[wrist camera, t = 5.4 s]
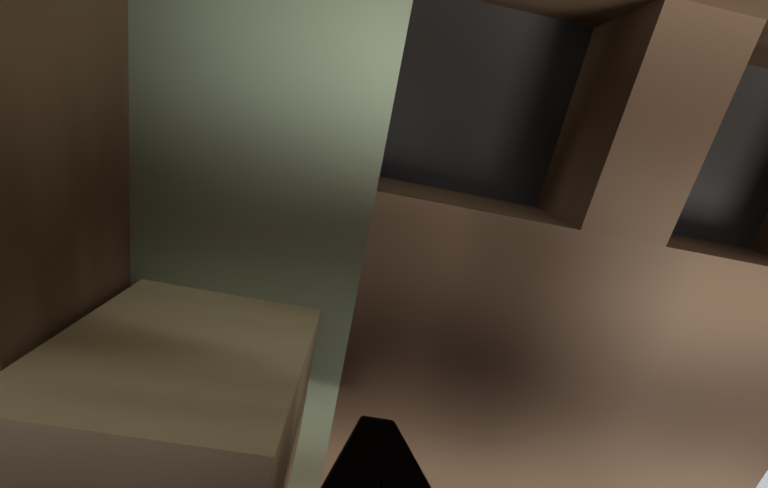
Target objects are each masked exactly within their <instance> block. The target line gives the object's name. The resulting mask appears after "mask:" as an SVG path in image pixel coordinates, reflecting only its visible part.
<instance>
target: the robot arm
mask: <svg viewBox="0 0 768 488" xmlns="http://www.w3.org/2000/svg"><path fill="white" fill-rule="evenodd" d="M321 488H431V486H430V484H429V482H428V481H427V479H426V477H425V475H424V473H423V472H422V470H421V468H420V466H419V464H418V463H417V461H416V459H415V457H414V455H413V454H412V452H411V450H410V448H409V446H408V445H407V443H406V441H405V439H404V437H403V436H402V434H401V432H400V430H399V428H398V426H397V425H396V423H395V422H394V421H393V420H390V419H383V418H377V417H370V416H364V415H363V416H361V417H360V418H359V420H358V422H357V423H356V425H355V427H354V429H353V431H352V432H351V434H350V436H349V438H348V439H347V441H346V443H345V445H344V447H343V448H342V450H341V452H340V454H339V455H338V457H337V459H336V461H335V463H334V464H333V466H332V468H331V470H330V471H329V473H328V475H327V477H326V479H325V480H324V482H323V484H322V486H321Z"/></svg>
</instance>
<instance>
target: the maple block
mask: <svg viewBox="0 0 768 488" xmlns="http://www.w3.org/2000/svg"><path fill="white" fill-rule="evenodd" d="M320 311H321V310H319V309H313V308H307V307H302V306H296V305H290V304H284V303H278V302H272V301H267V300H261V299H255V298H249V297H243V296H238V295H232V294H226V293H220V292H214V291H208V290H203V289H197V288H191V287H185V286H179V285H174V284H168V283H162V282H156V281H150V280H144V279H141V280H140V281H138V282H137V283H135V284H134V285H132V286H131V287H129V288H127V289H126V290H124V291H123V292H121V293H120V294H118V295H117V296H115V297H114V298H112V299H111V300H109V301H108V302H106V303H104V304H103V305H101V306H100V307H98V308H97V309H95V310H94V311H92V312H91V313H89V314H88V315H86V316H84V317H83V318H81V319H80V320H78V321H77V322H75V323H74V324H72V325H71V326H69V327H68V328H66V329H65V330H63V331H61V332H60V333H58V334H57V335H55V336H54V337H52V338H51V339H49V340H48V341H46V342H45V343H43V344H41V345H40V346H38V347H37V348H35V349H34V350H32V351H31V352H29V353H28V354H26V355H25V356H23V357H22V358H20V359H18V360H17V361H15V362H14V363H12V364H11V365H9V366H8V367H6V368H5V369H3V370H2V371H0V488H287V487H288V483H289V479H290V475H291V471H292V467H293V463H294V459H295V455H296V451H297V447H298V443H299V437H300V431H301V425H302V419H303V413H304V407H305V401H306V395H307V389H308V383H309V377H310V371H311V365H312V359H313V353H314V347H315V341H316V335H317V329H318V323H319V317H320Z"/></svg>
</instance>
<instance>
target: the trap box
mask: <svg viewBox="0 0 768 488" xmlns="http://www.w3.org/2000/svg"><path fill="white" fill-rule="evenodd" d="M141 279H144V280H150V281H156V282H162V283H168V284H174V285H179V286H185V287H191V288H197V289H203V290H208V291H214V292H220V293H226V294H232V295H238V296H243V297H249V298H255V299H261V300H267V301H272V302H278V303H284V304H290V305H296V306H302V307H307V308H313V309H319V310H321V311H320V317H319V323H318V329H317V335H316V341H315V347H314V353H313V359H312V365H311V371H310V377H309V383H308V389H307V395H306V401H305V407H304V413H303V419H302V425H301V431H300V437H299V443H298V447H297V451H296V455H295V459H294V463H293V467H292V471H291V475H290V479H289V483H288V487H287V488H321V486H322V484H323V482H324V480H325V479H326V477H327V475H328V473H329V471H330V470H331V468H332V466H333V464H334V463H335V461H336V459H337V457H338V455H339V454H340V452H341V450H342V448H343V447H344V445H345V443H346V441H347V439H348V438H349V436H350V434H351V432H352V431H353V429H354V427H355V425H356V423H357V422H358V420H359V418H360V417H361V416H363V415H364V416H370V417H377V418H383V419H390V420H393V421H394V422H395V423H396V425H397V426H398V428H399V430H400V432H401V434H402V436H403V437H404V439H405V441H406V443H407V445H408V446H409V448H410V450H411V452H412V454H413V455H414V457H415V459H416V461H417V463H418V464H419V466H420V468H421V470H422V472H423V473H424V475H425V477H426V479H427V481H428V482H429V484H430V486H431V488H756V486H757V485H758V483H759V482H760V480H761V479H762V477H763V476H764V474H765V473H766V471H767V470H768V0H0V371H2V370H3V369H5V368H6V367H8V366H9V365H11V364H12V363H14V362H15V361H17V360H18V359H20V358H22V357H23V356H25V355H26V354H28V353H29V352H31V351H32V350H34V349H35V348H37V347H38V346H40V345H41V344H43V343H45V342H46V341H48V340H49V339H51V338H52V337H54V336H55V335H57V334H58V333H60V332H61V331H63V330H65V329H66V328H68V327H69V326H71V325H72V324H74V323H75V322H77V321H78V320H80V319H81V318H83V317H84V316H86V315H88V314H89V313H91V312H92V311H94V310H95V309H97V308H98V307H100V306H101V305H103V304H104V303H106V302H108V301H109V300H111V299H112V298H114V297H115V296H117V295H118V294H120V293H121V292H123V291H124V290H126V289H127V288H129V287H131V286H132V285H134V284H135V283H137V282H138V281H140V280H141Z"/></svg>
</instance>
